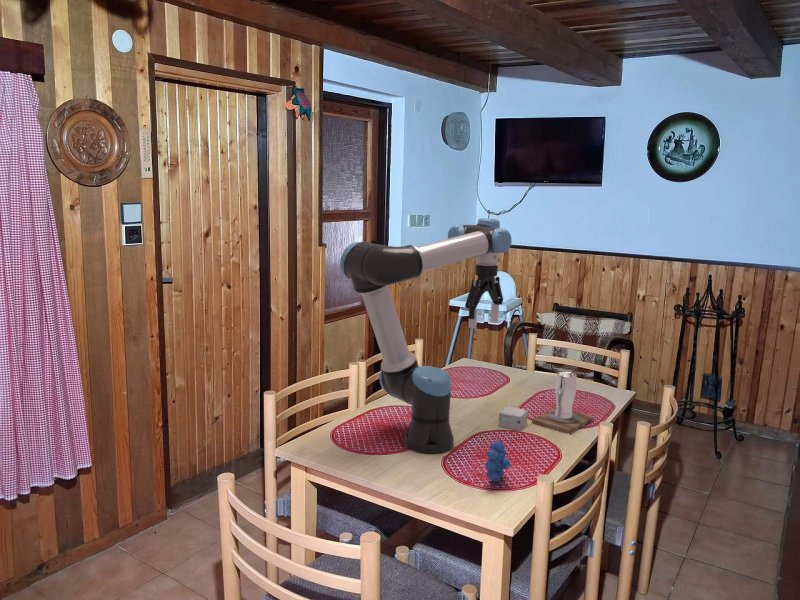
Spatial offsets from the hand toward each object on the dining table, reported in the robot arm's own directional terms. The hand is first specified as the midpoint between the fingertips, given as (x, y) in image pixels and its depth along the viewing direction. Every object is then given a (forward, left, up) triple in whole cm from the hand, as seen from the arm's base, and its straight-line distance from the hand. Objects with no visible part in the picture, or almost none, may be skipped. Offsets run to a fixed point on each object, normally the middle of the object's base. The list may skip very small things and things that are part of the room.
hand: (483, 325), depth 228 cm
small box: (-2, -15, -32) cm, 35 cm away
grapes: (-43, -35, -32) cm, 64 cm away
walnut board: (+13, -26, -32) cm, 43 cm away
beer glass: (+13, -26, -30) cm, 42 cm away
